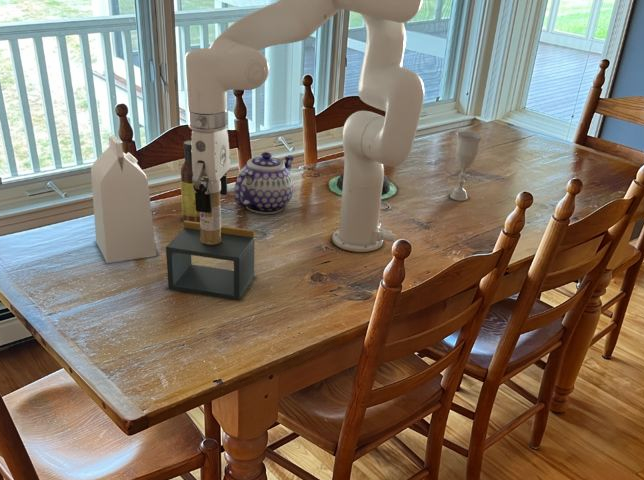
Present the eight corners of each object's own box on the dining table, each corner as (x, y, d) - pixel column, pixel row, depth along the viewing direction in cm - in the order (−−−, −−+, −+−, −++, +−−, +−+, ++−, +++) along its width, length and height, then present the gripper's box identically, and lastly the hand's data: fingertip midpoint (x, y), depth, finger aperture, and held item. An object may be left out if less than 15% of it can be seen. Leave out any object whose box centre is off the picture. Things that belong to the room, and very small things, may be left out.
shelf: (254, 277, 162) (254, 230, 156) (239, 300, 153) (239, 251, 147) (186, 267, 165) (184, 220, 158) (168, 289, 156) (165, 240, 149)
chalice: (443, 198, 208) (453, 136, 198) (448, 191, 213) (459, 129, 203) (468, 203, 206) (480, 140, 195) (473, 195, 211) (485, 133, 201)
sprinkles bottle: (195, 241, 153) (193, 180, 146) (211, 235, 156) (209, 174, 149) (210, 248, 151) (209, 186, 143) (226, 241, 154) (225, 180, 146)
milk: (96, 242, 174) (82, 133, 159) (143, 235, 178) (134, 129, 163) (107, 263, 165) (93, 150, 150) (156, 255, 169) (148, 145, 154)
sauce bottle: (202, 225, 185) (199, 148, 173) (178, 222, 185) (174, 145, 174) (210, 215, 190) (207, 140, 179) (187, 212, 191) (183, 137, 180)
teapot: (256, 228, 184) (257, 171, 176) (212, 212, 192) (210, 156, 183) (314, 201, 201) (317, 148, 193) (272, 187, 209) (273, 135, 200)
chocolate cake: (394, 201, 202) (323, 196, 204) (395, 210, 220) (330, 205, 222) (400, 147, 200) (328, 142, 203) (400, 160, 219) (334, 155, 221)
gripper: (211, 134, 131) (215, 221, 141) (240, 108, 145) (242, 189, 155) (172, 130, 133) (179, 216, 143) (204, 104, 147) (208, 185, 156)
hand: (212, 202), depth 149 cm, fingers open, 9 cm apart
